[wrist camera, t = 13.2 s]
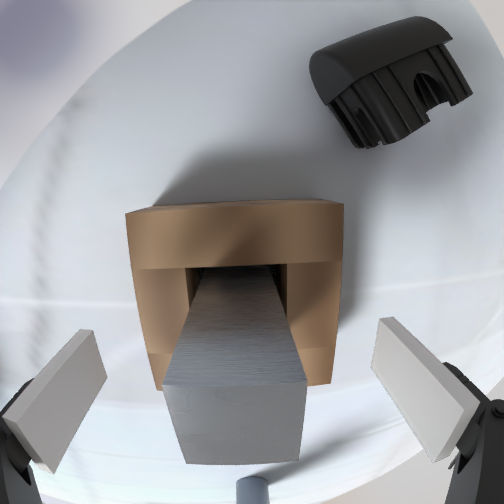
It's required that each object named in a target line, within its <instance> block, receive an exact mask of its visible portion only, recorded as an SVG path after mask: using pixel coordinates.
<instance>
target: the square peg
mask: <svg viewBox="0 0 504 504" xmlns="http://www.w3.org/2000/svg"><path fill="white" fill-rule="evenodd" d="M307 383H308V380H307V377H306V374H305V371H304V368H303V365H302V362H301V359H300V356H299V353H298V350H297V347H296V345H295V342H294V339H293V336H292V333H291V330H290V327H289V324H288V321H287V318H286V315H285V312H284V309H283V306H282V303H281V300H280V297H279V294H278V292H277V289H276V286H275V283H274V280H273V277H272V274H271V271H270V268H269V265H268V264H265V265H243V266H219V267H206V269H205V271H204V274H203V276H202V279H201V281H200V284H199V287H198V289H197V292H196V294H195V297H194V299H193V302H192V304H191V307H190V310H189V312H188V315H187V317H186V320H185V323H184V325H183V328H182V331H181V333H180V336H179V339H178V341H177V344H176V347H175V350H174V352H173V355H172V358H171V361H170V363H169V366H168V369H167V372H166V374H165V377H164V380H163V383H162V388H163V392H164V396H165V399H166V403H167V406H168V410H169V413H170V416H171V420H172V423H173V426H174V429H175V432H176V436H177V439H178V442H179V444H180V447H181V450H182V453H183V456H184V459H185V461H186V464H202V465H249V464H267V463H279V462H289V461H298V460H299V453H300V446H301V438H302V430H303V422H304V413H305V404H306V394H307Z"/></svg>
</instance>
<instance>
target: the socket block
mask: <svg viewBox="0 0 504 504" xmlns="http://www.w3.org/2000/svg"><path fill="white" fill-rule="evenodd" d="M343 212H344V204H341V203H337V202H332V201H327V200H322V199H287V200H252V201H228V202H209V203H192V204H177V205H164V206H152V207H148V208H144V209H140V210H137V211H133V212H130V213H126V214H125V216H126V227H127V237H128V246H129V254H130V262H131V269H132V276H133V282H134V289H135V295H136V300H137V306H138V311H139V317H140V322H141V327H142V331H143V336H144V341H145V345H146V349H147V354H148V358H149V362H150V366H151V370H152V374H153V377H154V381H155V385H156V388H157V390H160V391H163V388H162V383H163V380H164V377H165V374H166V372H167V369H168V366H169V363H170V361H171V358H172V355H173V352H174V350H175V347H176V344H177V341H178V339H179V336H180V333H181V331H182V328H183V325H184V323H185V320H186V317H187V315H188V312H189V310H190V307H191V304H192V302H193V299H194V297H195V294H196V292H197V289H198V287H199V284H200V271H199V267H219V266H243V265H265V264H276V272H277V292H278V294H279V297H280V300H281V303H282V306H283V309H284V312H285V315H286V318H287V321H288V324H289V327H290V330H291V333H292V336H293V339H294V342H295V345H296V347H297V350H298V353H299V356H300V359H301V362H302V365H303V368H304V371H305V374H306V377H307V380H308V383H307V386H315V385H323V384H330V383H331V378H332V370H333V363H334V355H335V346H336V337H337V328H338V317H339V305H340V292H341V276H342V255H343Z"/></svg>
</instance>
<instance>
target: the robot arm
mask: <svg viewBox="0 0 504 504" xmlns="http://www.w3.org/2000/svg"><path fill="white" fill-rule="evenodd" d="M371 369H372V370H373V372H374V373H375V375H376V376H377V378H378V379H379V381H380V382H381V384H382V385H383V387H384V388H385V390H386V391H387V393H388V394H389V396H390V397H391V399H392V400H393V402H394V403H395V405H396V406H397V408H398V409H399V411H400V412H401V414H402V415H403V417H404V419H405V420H406V422H407V423H408V425H409V426H410V428H411V429H412V431H413V433H414V434H415V436H416V437H417V439H418V440H419V442H420V444H421V445H422V447H423V448H424V450H425V452H426V453H427V455H428V456H429V458H430V460H431V461H432V463H435V462H438V461H440V460H442V459H444V458H446V457H448V456H449V455H450V454H451V452H452V451H453V449H454V447H455V446H457V448H458V449H459V453H458V454H457V456H456V457H455V459H454V460H453V461H452V463H451V464H450V466H449V468H448V469H451V468H452V467H453V465H454V464H455V466H454V471H453V475H452V479H451V483H450V487H449V490H448V494H447V497H446V501H445V504H504V400H501V399H496V400H492V401H490V400H489V399H488V398H487V397H486V396H485V395H484V394H483V393H482V392H481V391H480V390H479V389H478V388H477V387H476V386H475V385H474V384H473V383H472V382H471V381H469V379H468V378H467V377H466V376H464V375H463V373H462V372H461V371H460V370H459V369H458V368H457V367H455V366H453V365H451V364H449V363H447V362H444V363H441V362H440V361H439V360H438V359H437V358H436V357H435V356H434V355H433V354H432V353H431V352H430V351H429V350H428V349H427V348H426V347H425V346H424V345H423V344H422V343H421V342H420V341H419V340H418V339H417V338H415V337H414V336H413V335H412V334H411V333H410V332H409V331H408V330H407V329H406V328H405V327H404V326H403V325H402V324H401V323H399V322H398V321H397V320H396V319H395V318H394V317H388V318H381V319H379V324H378V330H377V336H376V342H375V347H374V353H373V358H372V363H371ZM107 378H108V377H107V374H106V371H105V368H104V365H103V362H102V359H101V356H100V353H99V350H98V346H97V343H96V339H95V336H94V332H93V330H83V329H80V330H79V331H78V332H77V333H76V334H75V335H74V336H73V337H72V338H71V339H70V340H69V341H68V342H67V343H66V344H65V345H64V346H63V348H62V349H61V350H60V351H59V352H58V353H57V354H56V355H55V356H54V357H53V358H52V359H51V360H50V362H49V363H48V364H47V365H46V366H45V367H44V368H43V369H42V370H41V372H40V373H39V374H38V375H37V376H36V377H35V378H33V379H31V380H29V381H28V382H26V383H25V384H24V385H23V386H22V387H21V388H20V389H19V391H18V392H17V393H16V394H15V395H14V396H13V398H12V399H11V400H10V401H9V402H8V403H7V405H6V406H5V407H4V408H3V409H2V411H1V412H0V504H42V501H41V498H40V495H39V492H38V489H37V485H36V482H35V478H34V474H33V470H32V468H31V466H30V465H29V462H30V460H31V459H32V460H33V462H34V463H35V464H36V465H37V467H38V468H39V469H42V470H44V471H46V472H49V473H51V474H54V473H55V471H56V469H57V467H58V465H59V463H60V461H61V459H62V458H63V456H64V454H65V452H66V450H67V448H68V446H69V444H70V442H71V441H72V439H73V437H74V435H75V433H76V431H77V430H78V428H79V426H80V424H81V422H82V421H83V419H84V417H85V415H86V413H87V412H88V410H89V408H90V406H91V405H92V403H93V401H94V400H95V398H96V396H97V394H98V393H99V391H100V389H101V388H102V386H103V384H104V383H105V381H106V379H107Z"/></svg>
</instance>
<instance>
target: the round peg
mask: <svg viewBox="0 0 504 504" xmlns="http://www.w3.org/2000/svg"><path fill="white" fill-rule="evenodd" d="M236 504H270V502H269V492H268V483H267V480H265V479H263V478H260V477H245V478H242V479H240V480H238V481H237V482H236Z"/></svg>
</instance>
